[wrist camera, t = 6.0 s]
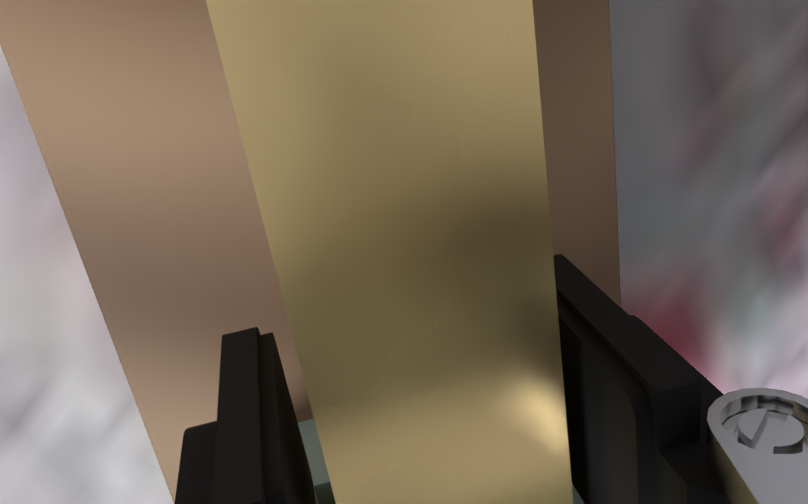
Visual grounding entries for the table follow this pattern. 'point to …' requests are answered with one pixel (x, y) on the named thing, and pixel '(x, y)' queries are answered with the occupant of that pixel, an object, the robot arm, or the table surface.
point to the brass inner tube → (409, 238)
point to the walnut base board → (237, 183)
